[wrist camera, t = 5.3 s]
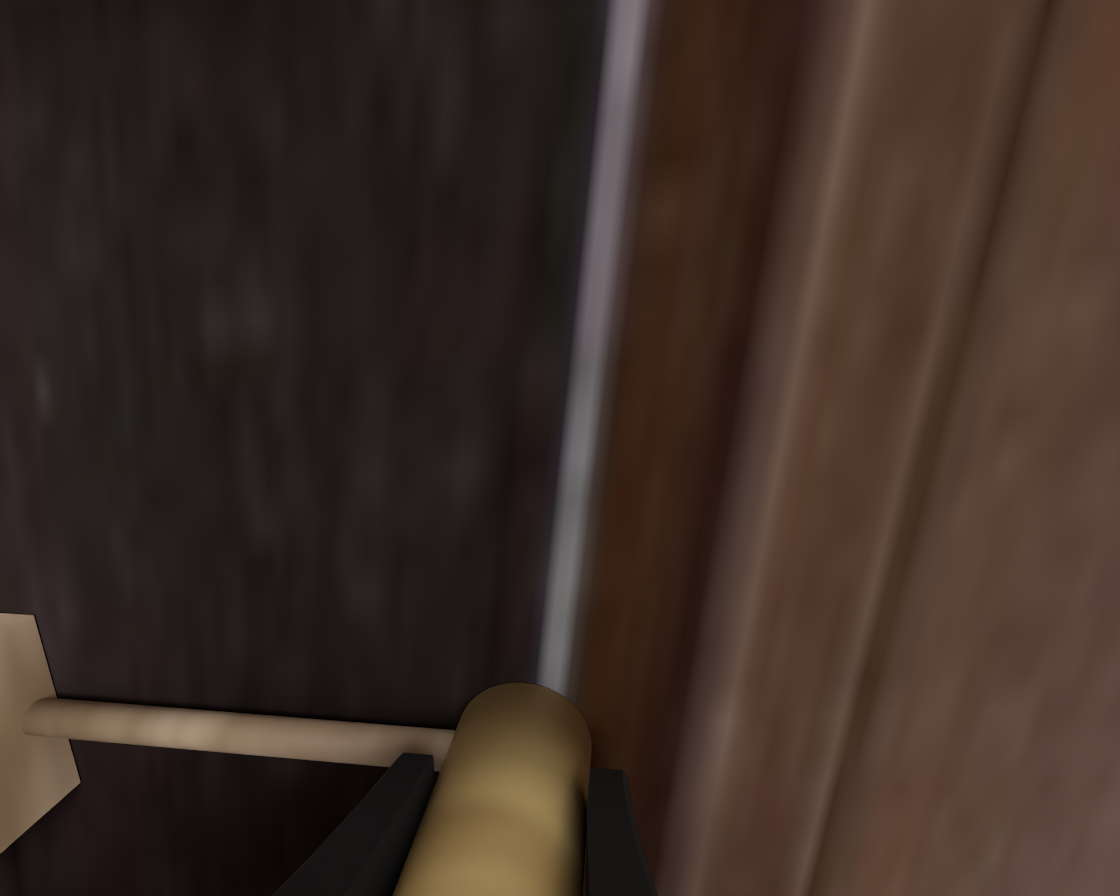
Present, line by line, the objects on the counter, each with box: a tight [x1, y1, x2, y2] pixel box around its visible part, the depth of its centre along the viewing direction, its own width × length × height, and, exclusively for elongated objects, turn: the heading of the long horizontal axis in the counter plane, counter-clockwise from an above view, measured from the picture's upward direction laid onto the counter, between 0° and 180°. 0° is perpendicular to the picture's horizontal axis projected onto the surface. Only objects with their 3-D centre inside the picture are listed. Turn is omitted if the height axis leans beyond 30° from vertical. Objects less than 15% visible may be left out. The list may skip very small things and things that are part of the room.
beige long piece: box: [0, 613, 592, 896], centre depth 10 cm, size 5×18×6 cm, turn 90°
